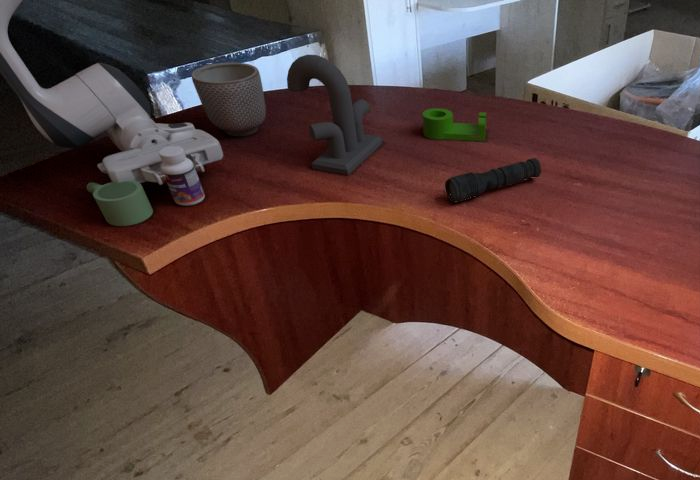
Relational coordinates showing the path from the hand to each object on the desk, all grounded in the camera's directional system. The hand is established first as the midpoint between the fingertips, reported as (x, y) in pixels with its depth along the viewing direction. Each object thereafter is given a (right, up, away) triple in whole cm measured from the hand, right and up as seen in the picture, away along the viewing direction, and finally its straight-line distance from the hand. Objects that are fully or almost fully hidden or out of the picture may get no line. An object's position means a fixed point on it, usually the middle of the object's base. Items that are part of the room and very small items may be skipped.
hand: (182, 174), depth 99 cm
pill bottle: (-1, -4, +4) cm, 6 cm away
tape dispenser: (+48, +20, +32) cm, 60 cm away
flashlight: (+58, 0, +12) cm, 59 cm away
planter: (-2, +19, +28) cm, 34 cm away
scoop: (-11, -7, 0) cm, 13 cm away
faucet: (+22, +12, +22) cm, 33 cm away
